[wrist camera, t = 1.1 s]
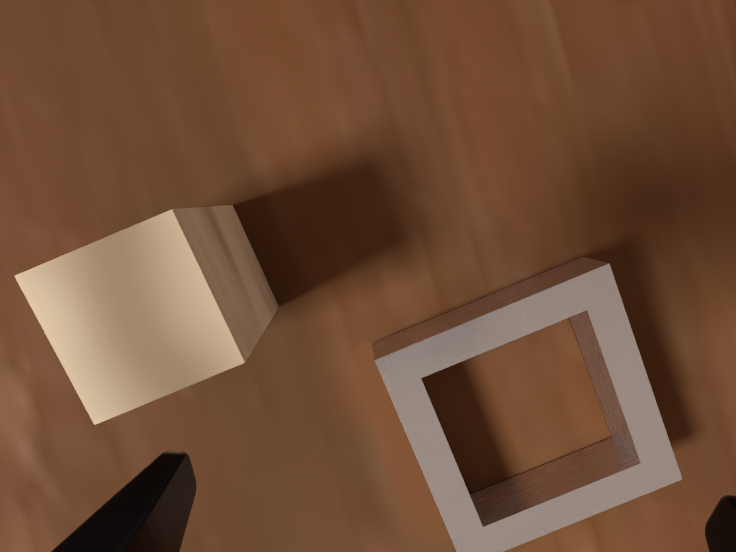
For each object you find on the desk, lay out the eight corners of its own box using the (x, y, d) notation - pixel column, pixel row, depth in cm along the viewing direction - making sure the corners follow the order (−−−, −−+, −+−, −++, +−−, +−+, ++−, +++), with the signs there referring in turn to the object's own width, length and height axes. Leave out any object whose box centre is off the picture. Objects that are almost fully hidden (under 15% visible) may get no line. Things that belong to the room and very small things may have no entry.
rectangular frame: (452, 531, 26) (463, 567, 23) (371, 343, 24) (374, 360, 21) (649, 451, 25) (682, 479, 23) (581, 256, 24) (609, 263, 21)
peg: (178, 348, 24) (94, 424, 16) (129, 248, 23) (14, 276, 15) (279, 306, 23) (245, 362, 16) (232, 204, 23) (171, 209, 15)
